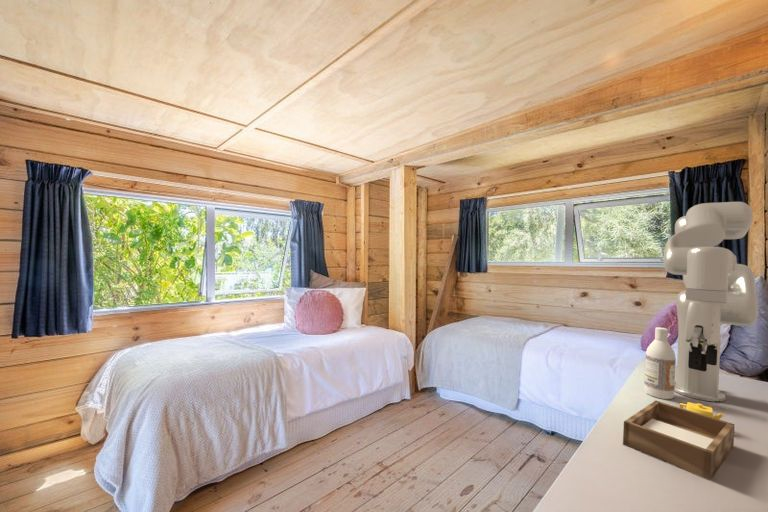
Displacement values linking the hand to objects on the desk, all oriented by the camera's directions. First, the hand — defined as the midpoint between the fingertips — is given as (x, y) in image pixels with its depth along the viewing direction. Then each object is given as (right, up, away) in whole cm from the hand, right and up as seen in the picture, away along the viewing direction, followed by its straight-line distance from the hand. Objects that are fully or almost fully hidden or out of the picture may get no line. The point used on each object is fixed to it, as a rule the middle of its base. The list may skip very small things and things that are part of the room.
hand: (702, 366), depth 84 cm
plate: (-16, -14, -11) cm, 24 cm away
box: (-14, -14, -10) cm, 22 cm away
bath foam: (+4, -15, +18) cm, 24 cm away
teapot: (0, -15, +1) cm, 15 cm away
